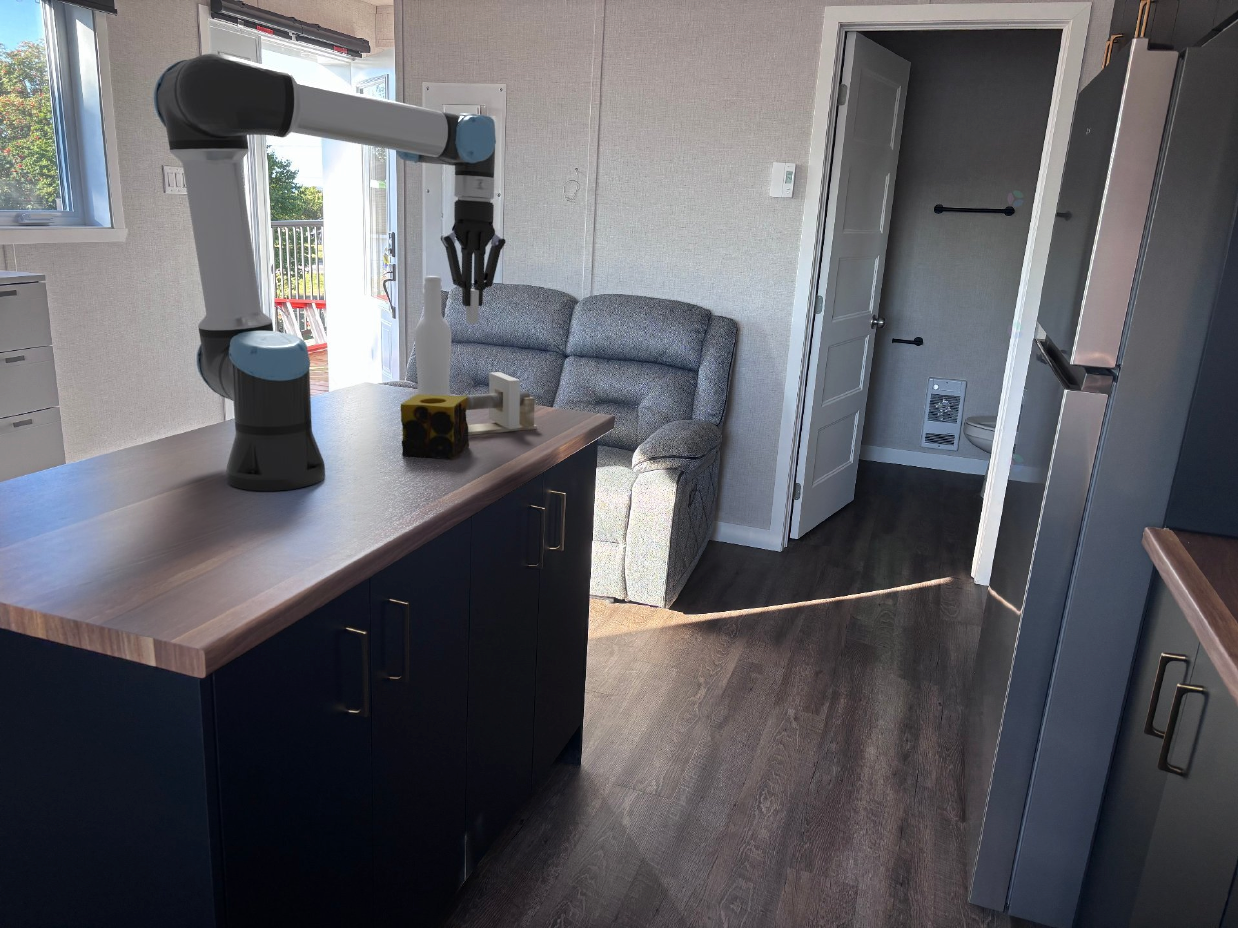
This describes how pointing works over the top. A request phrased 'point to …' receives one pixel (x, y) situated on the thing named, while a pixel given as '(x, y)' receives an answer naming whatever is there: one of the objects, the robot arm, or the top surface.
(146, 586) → the top surface
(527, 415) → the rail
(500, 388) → the upright white plank
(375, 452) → the top surface
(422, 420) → the yellow cube with hole
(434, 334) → the bottle
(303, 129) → the robot arm
